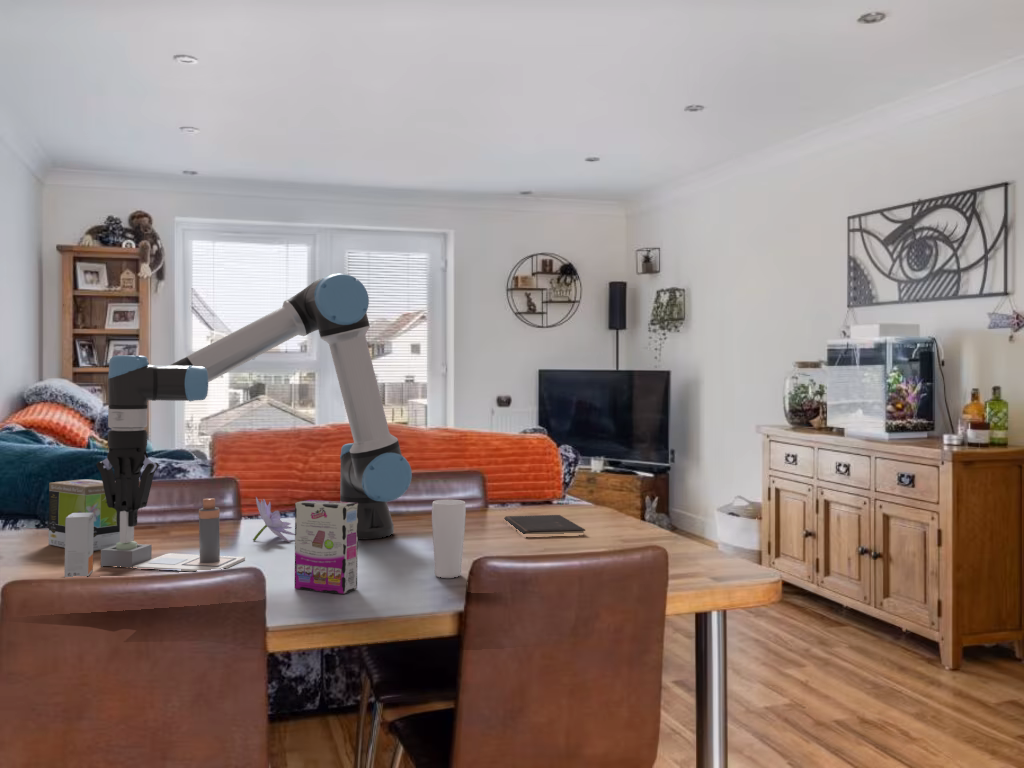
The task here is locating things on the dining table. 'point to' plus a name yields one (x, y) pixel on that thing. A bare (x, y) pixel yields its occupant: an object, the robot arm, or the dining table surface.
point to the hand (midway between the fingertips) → (126, 541)
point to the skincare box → (79, 544)
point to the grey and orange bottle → (209, 532)
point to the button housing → (126, 556)
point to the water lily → (272, 521)
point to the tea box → (82, 511)
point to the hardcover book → (543, 524)
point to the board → (188, 562)
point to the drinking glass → (448, 536)
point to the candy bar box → (326, 546)
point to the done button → (126, 545)
